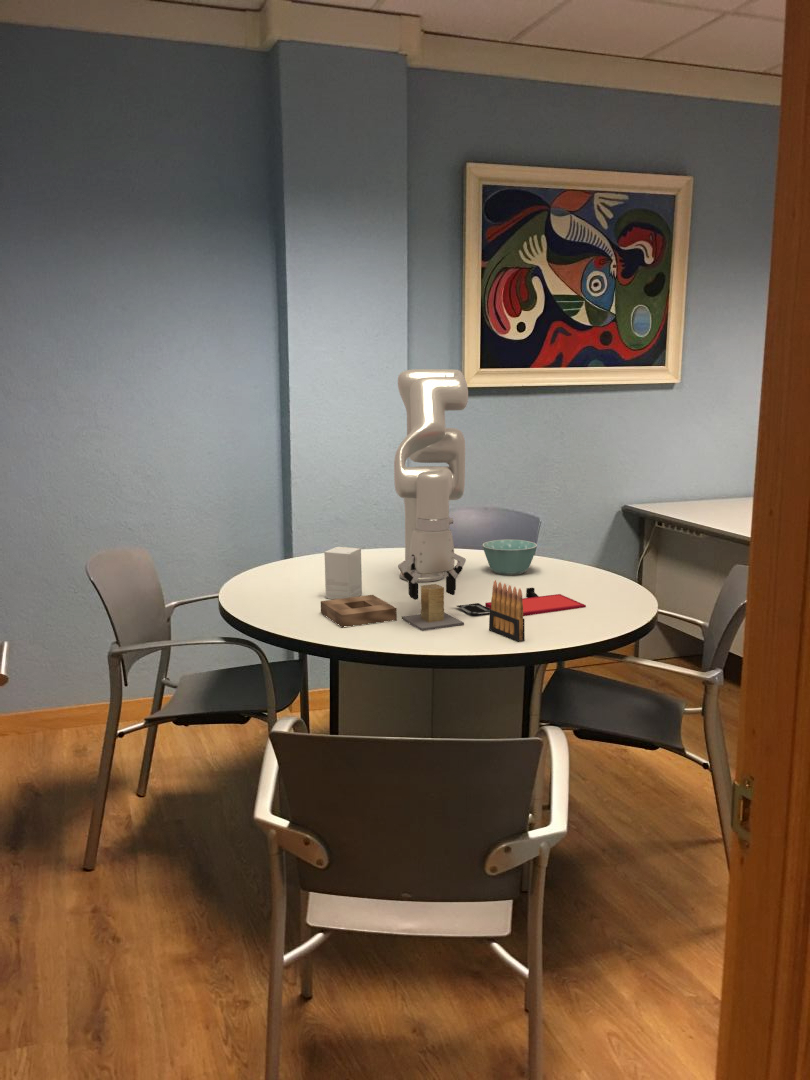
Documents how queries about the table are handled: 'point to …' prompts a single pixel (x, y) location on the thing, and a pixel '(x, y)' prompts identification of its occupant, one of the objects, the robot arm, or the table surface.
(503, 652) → the table surface
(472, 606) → the red board with handle
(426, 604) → the wooden block
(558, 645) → the table surface
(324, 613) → the socket block
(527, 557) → the bowl
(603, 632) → the table surface
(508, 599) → the ammunition clip
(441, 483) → the robot arm
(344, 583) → the supplement box
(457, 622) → the rubber mat
